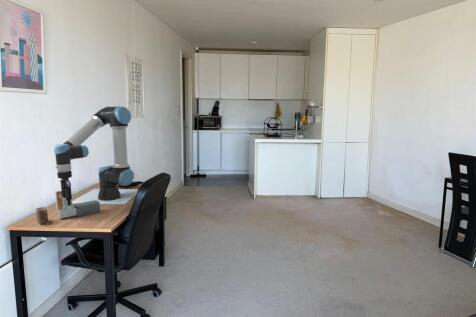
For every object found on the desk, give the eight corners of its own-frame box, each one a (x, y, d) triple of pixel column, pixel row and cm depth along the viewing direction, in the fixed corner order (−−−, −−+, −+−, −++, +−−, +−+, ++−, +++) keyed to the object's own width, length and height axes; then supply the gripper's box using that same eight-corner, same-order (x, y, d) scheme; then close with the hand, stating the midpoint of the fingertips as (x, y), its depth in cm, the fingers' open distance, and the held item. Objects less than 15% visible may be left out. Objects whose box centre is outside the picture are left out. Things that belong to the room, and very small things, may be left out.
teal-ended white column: (91, 209, 218) (90, 196, 216) (94, 211, 214) (93, 197, 212) (58, 216, 206) (56, 202, 204) (60, 218, 202) (59, 203, 200)
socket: (45, 220, 203) (44, 206, 202) (48, 223, 197) (47, 209, 195) (37, 221, 200) (36, 208, 199) (40, 225, 194) (39, 211, 193)
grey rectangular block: (96, 210, 221) (95, 200, 220) (100, 212, 216) (99, 202, 215) (74, 214, 212) (74, 204, 211) (78, 217, 207) (77, 206, 206)
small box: (57, 211, 219) (55, 191, 217) (56, 209, 224) (54, 189, 222) (71, 209, 223) (70, 189, 221) (70, 207, 229) (68, 187, 227)
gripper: (53, 169, 207) (57, 207, 211) (61, 174, 193) (65, 214, 197) (67, 168, 212) (70, 205, 216) (75, 172, 198) (79, 211, 202)
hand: (68, 209), depth 206 cm, fingers closed on teal-ended white column, 5 cm apart
